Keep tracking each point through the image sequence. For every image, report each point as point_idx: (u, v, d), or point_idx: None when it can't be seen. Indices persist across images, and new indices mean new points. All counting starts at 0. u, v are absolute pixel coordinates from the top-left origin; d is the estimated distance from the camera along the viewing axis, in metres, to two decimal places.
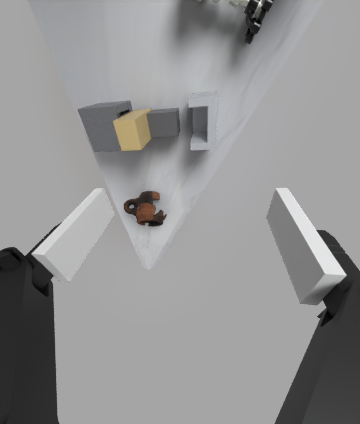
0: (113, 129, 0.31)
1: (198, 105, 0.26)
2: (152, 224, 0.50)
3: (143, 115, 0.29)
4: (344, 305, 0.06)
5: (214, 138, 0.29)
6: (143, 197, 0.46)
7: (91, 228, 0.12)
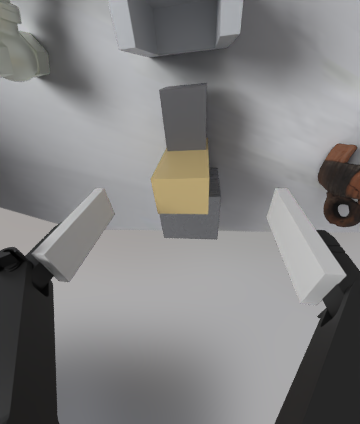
0: None
1: (126, 12, 0.10)
2: None
3: (163, 157, 0.16)
4: (344, 305, 0.06)
5: None
6: (331, 181, 0.21)
7: (91, 228, 0.12)
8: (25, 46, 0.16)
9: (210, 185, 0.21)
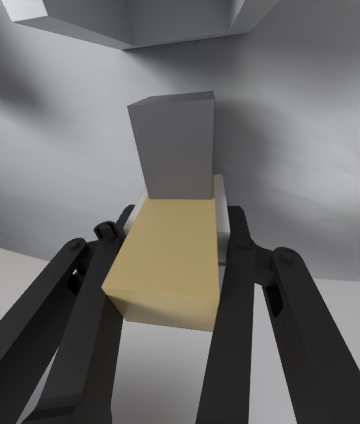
0: None
1: None
2: None
3: (140, 215, 0.10)
4: (227, 259, 0.08)
5: None
6: None
7: None
8: None
9: None
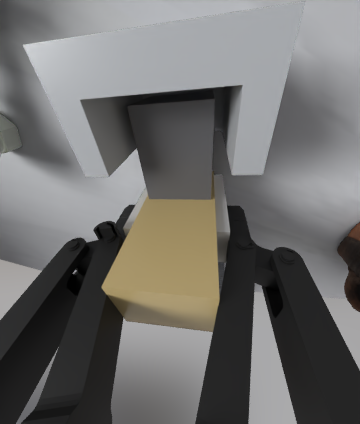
0: None
1: (91, 142, 0.07)
2: None
3: (140, 215, 0.10)
4: (227, 259, 0.08)
5: (223, 31, 0.04)
6: (356, 263, 0.17)
7: None
8: None
9: None
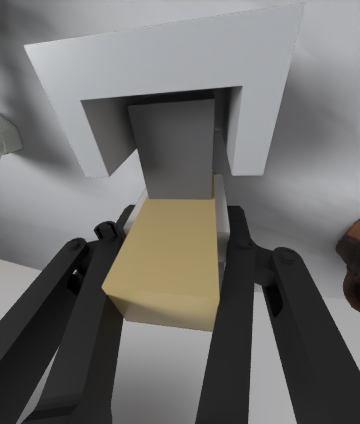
0: None
1: (92, 142, 0.07)
2: None
3: (140, 215, 0.10)
4: (226, 259, 0.08)
5: (223, 31, 0.04)
6: (354, 261, 0.17)
7: None
8: None
9: None
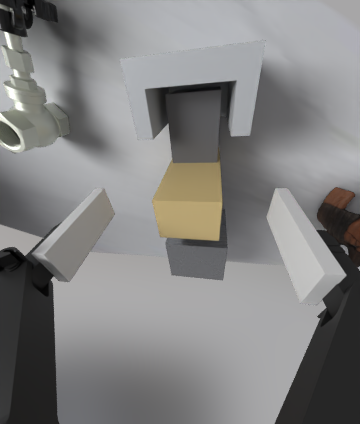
0: (194, 253, 0.21)
1: (146, 115, 0.11)
2: None
3: (168, 171, 0.14)
4: (344, 305, 0.06)
5: (226, 53, 0.09)
6: (330, 224, 0.21)
7: (91, 228, 0.12)
8: (49, 119, 0.18)
9: None
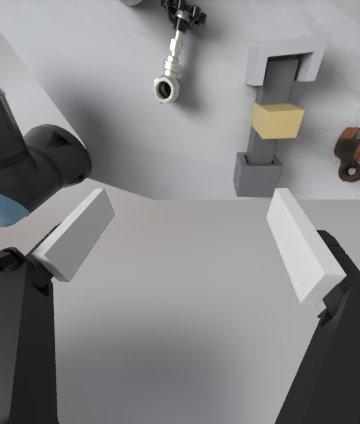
0: (259, 173, 0.33)
1: (263, 71, 0.23)
2: None
3: (262, 106, 0.26)
4: (344, 305, 0.06)
5: (312, 39, 0.21)
6: (343, 152, 0.33)
7: (91, 228, 0.12)
8: (178, 84, 0.30)
9: (273, 160, 0.34)
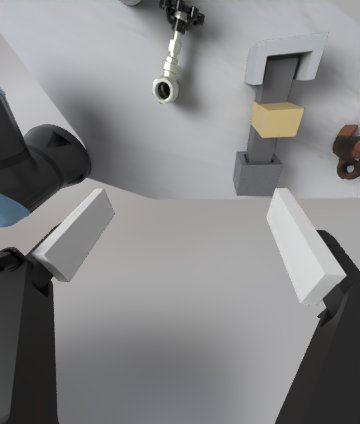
0: (259, 171, 0.33)
1: (263, 70, 0.23)
2: None
3: (262, 105, 0.26)
4: (344, 305, 0.06)
5: (311, 37, 0.21)
6: (342, 149, 0.33)
7: (91, 228, 0.12)
8: (177, 84, 0.30)
9: (272, 159, 0.34)
